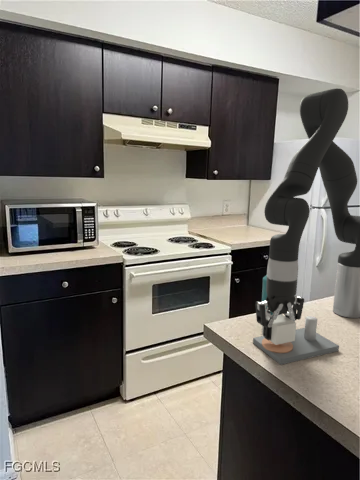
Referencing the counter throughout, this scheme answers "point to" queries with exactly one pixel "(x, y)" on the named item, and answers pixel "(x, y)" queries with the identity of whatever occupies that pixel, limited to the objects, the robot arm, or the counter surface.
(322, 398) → the counter surface
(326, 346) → the post board
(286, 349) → the tan flat disc
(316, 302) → the counter surface
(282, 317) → the off-white matte cube
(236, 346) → the counter surface
